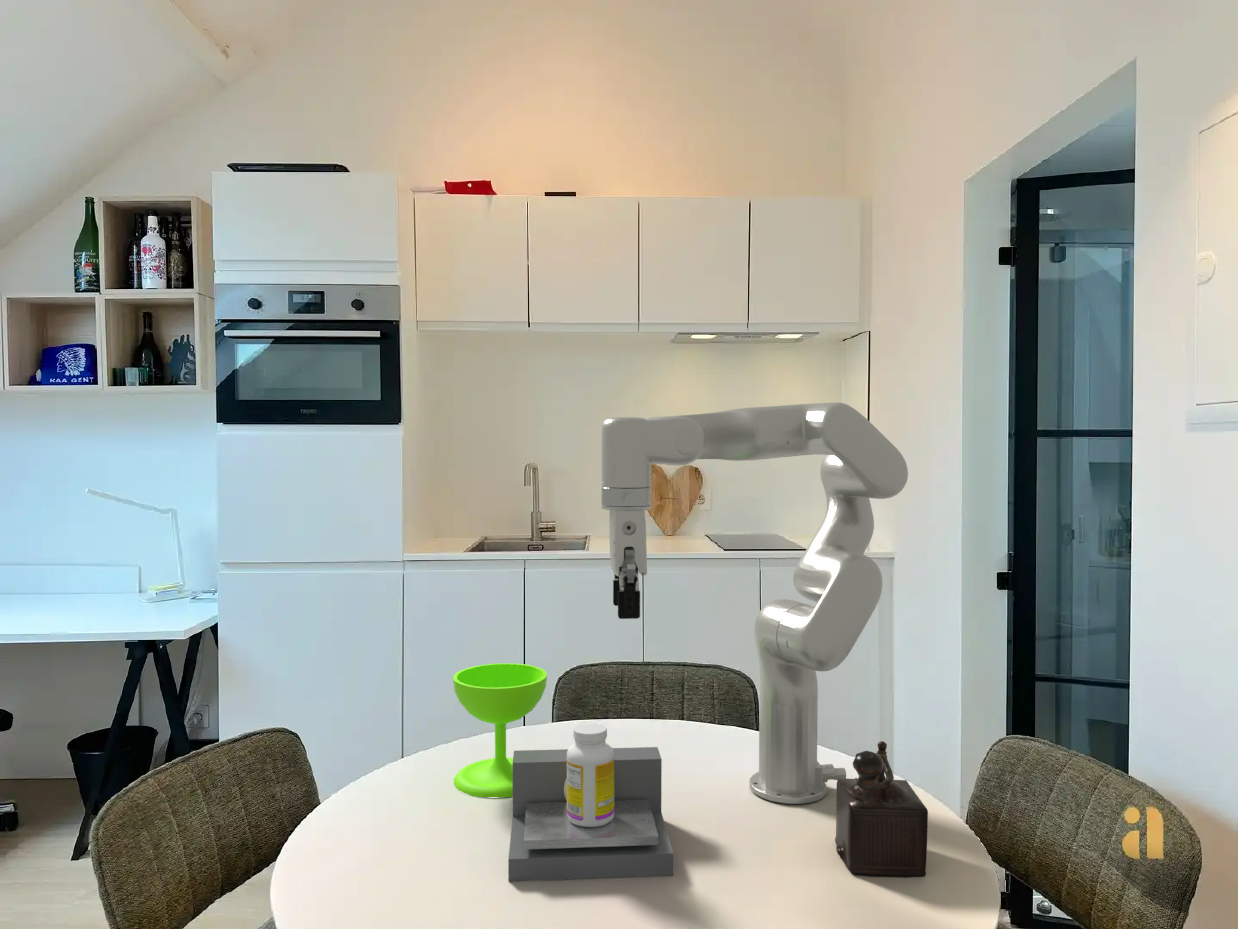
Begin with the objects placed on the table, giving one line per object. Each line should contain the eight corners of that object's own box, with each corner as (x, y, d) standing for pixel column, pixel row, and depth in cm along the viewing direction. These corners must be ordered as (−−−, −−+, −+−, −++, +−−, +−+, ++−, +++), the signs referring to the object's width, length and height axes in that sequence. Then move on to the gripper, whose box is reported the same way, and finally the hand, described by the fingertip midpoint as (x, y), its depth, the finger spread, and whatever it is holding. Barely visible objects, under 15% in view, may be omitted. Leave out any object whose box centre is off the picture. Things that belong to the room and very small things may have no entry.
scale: (657, 817, 136) (657, 747, 136) (673, 875, 118) (673, 794, 118) (514, 822, 135) (513, 750, 134) (508, 881, 117) (508, 799, 116)
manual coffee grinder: (829, 840, 129) (830, 718, 128) (906, 842, 128) (907, 719, 128) (854, 896, 113) (855, 757, 113) (941, 898, 113) (943, 759, 112)
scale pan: (648, 807, 130) (648, 799, 130) (658, 844, 118) (658, 836, 118) (526, 811, 129) (526, 803, 129) (523, 849, 117) (523, 840, 117)
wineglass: (475, 806, 140) (475, 694, 140) (439, 773, 154) (438, 671, 153) (563, 785, 149) (563, 679, 148) (522, 755, 162) (522, 659, 162)
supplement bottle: (616, 809, 127) (616, 721, 126) (611, 830, 120) (612, 737, 120) (570, 807, 127) (570, 719, 127) (563, 828, 121) (563, 735, 120)
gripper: (657, 503, 125) (657, 623, 125) (644, 495, 142) (644, 600, 143) (605, 503, 124) (604, 624, 125) (598, 495, 141) (598, 601, 142)
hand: (626, 611), depth 134 cm, fingers open, 9 cm apart
